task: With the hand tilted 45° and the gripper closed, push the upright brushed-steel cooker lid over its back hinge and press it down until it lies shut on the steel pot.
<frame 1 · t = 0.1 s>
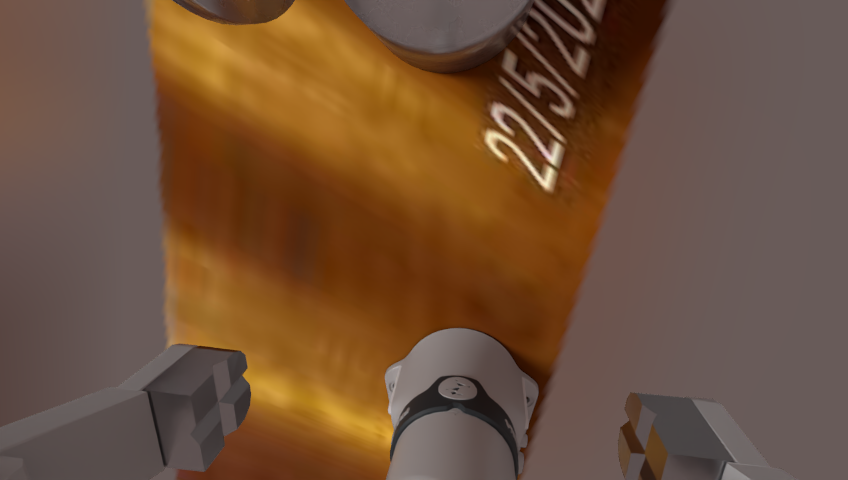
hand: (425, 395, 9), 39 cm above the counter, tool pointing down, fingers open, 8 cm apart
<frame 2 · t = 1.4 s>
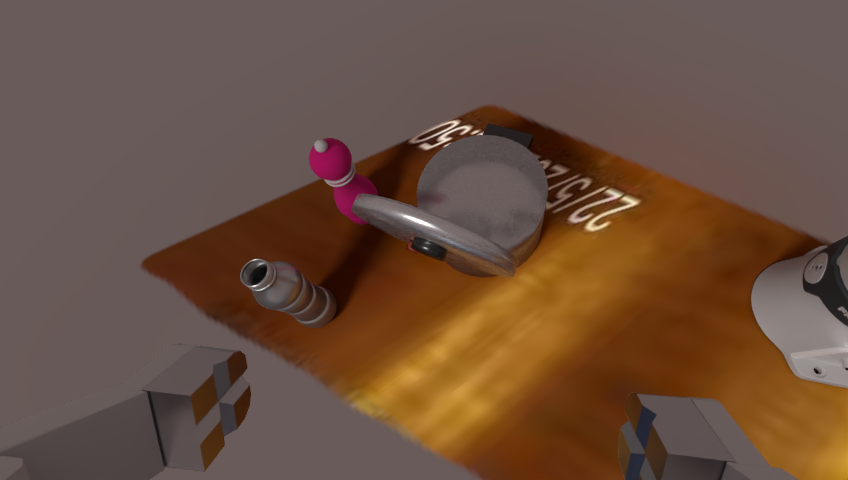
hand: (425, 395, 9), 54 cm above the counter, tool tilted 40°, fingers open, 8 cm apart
silver metal bottle: (322, 310, 68), on the counter
cooker pot: (484, 224, 68), on the counter
pepper mill: (365, 209, 74), on the counter
cooker lid: (431, 242, 46), point 21 cm above the counter, hinge at 100.0°
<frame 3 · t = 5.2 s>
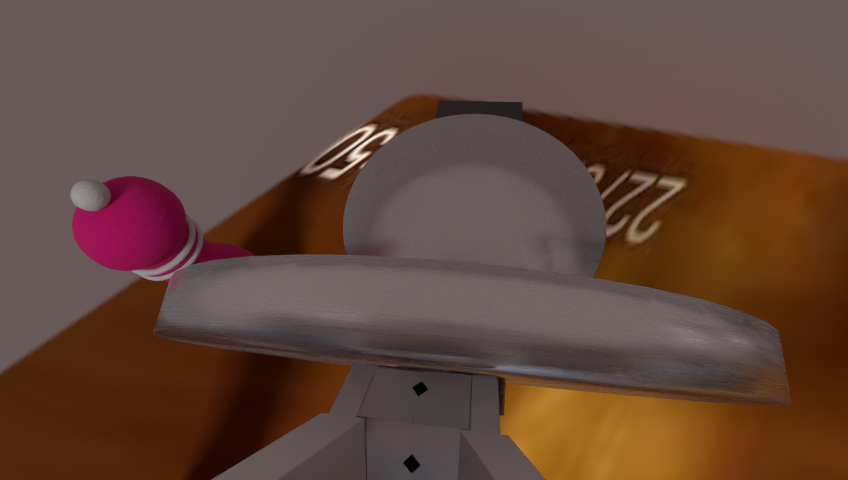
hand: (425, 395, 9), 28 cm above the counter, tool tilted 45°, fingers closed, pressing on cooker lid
cooker pot: (468, 275, 40), on the counter
pepper mill: (249, 302, 40), on the counter
cooker lid: (450, 368, 15), point 21 cm above the counter, hinge at 97.1°, touching gripper
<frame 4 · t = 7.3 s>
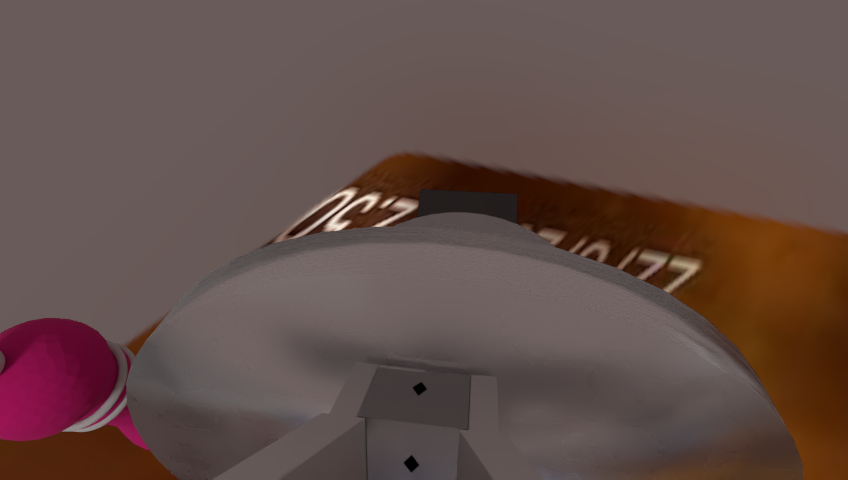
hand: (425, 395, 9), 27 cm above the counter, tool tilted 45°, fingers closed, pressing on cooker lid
cooker pot: (457, 376, 35), on the counter
pepper mill: (210, 404, 36), on the counter
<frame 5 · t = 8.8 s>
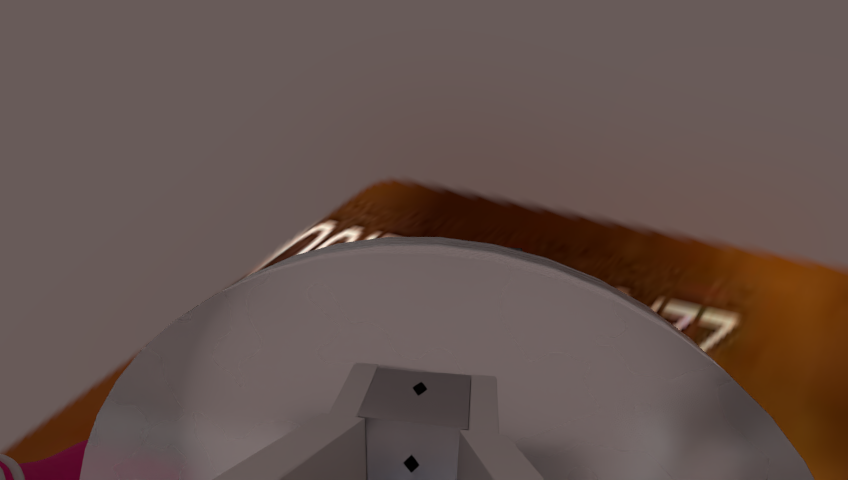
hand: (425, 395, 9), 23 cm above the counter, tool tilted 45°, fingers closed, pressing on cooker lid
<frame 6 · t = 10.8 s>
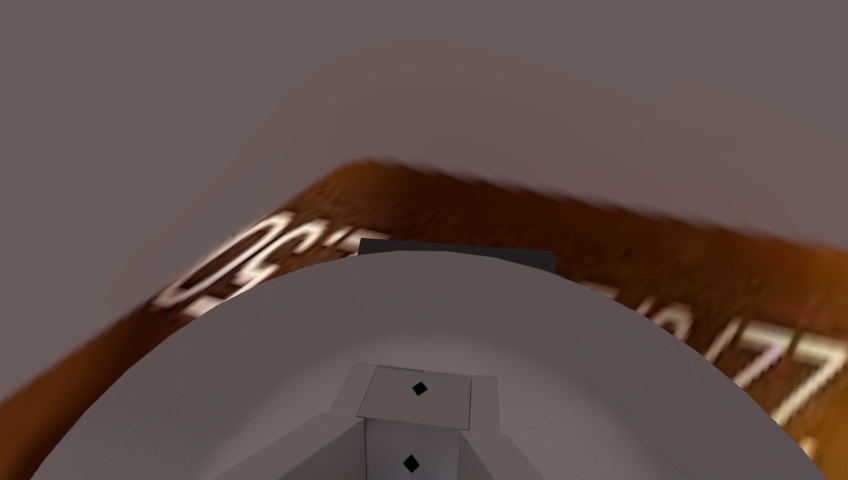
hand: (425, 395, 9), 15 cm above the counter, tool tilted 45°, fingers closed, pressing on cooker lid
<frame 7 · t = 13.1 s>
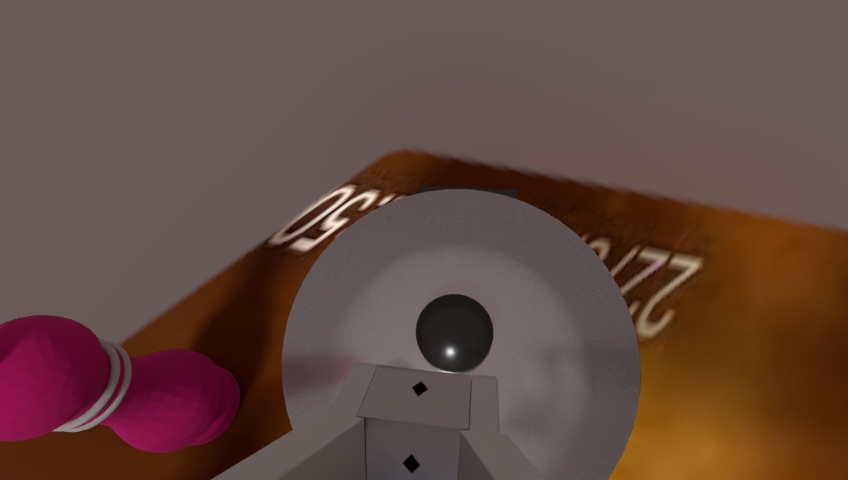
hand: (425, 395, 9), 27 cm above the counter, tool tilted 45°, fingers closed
cooker pot: (456, 375, 35), on the counter
pepper mill: (206, 404, 35), on the counter
cooker lid: (454, 337, 23), point 13 cm above the counter, hinge at -0.1°
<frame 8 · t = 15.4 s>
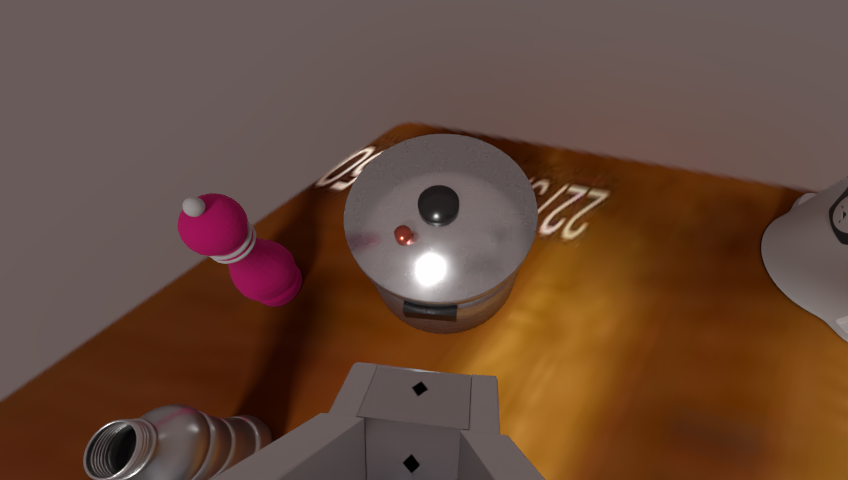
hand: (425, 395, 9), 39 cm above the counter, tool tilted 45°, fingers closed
silver metal bottle: (250, 449, 45), on the counter
cooker pot: (444, 263, 53), on the counter
pepper mill: (279, 284, 54), on the counter
cooker lid: (439, 209, 41), point 13 cm above the counter, hinge at -0.1°
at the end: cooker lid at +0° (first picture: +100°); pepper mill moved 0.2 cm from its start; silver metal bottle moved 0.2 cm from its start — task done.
